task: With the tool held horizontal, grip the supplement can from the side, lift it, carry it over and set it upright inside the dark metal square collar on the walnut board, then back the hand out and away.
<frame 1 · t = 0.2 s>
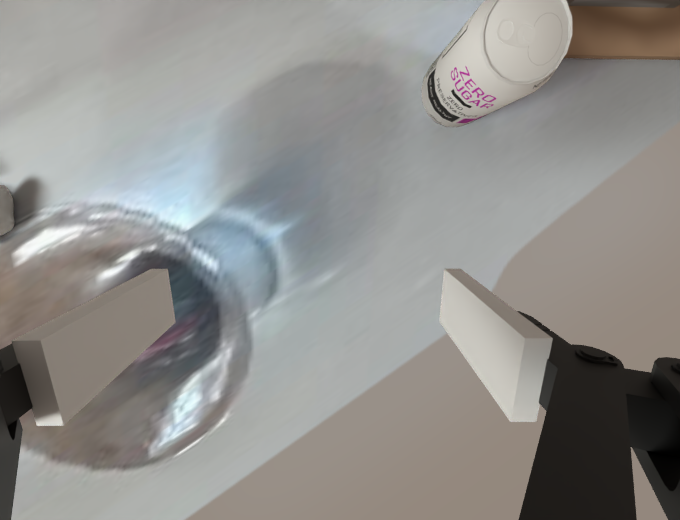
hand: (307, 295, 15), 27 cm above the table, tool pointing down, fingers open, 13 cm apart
supplement can: (452, 93, 39), on the table
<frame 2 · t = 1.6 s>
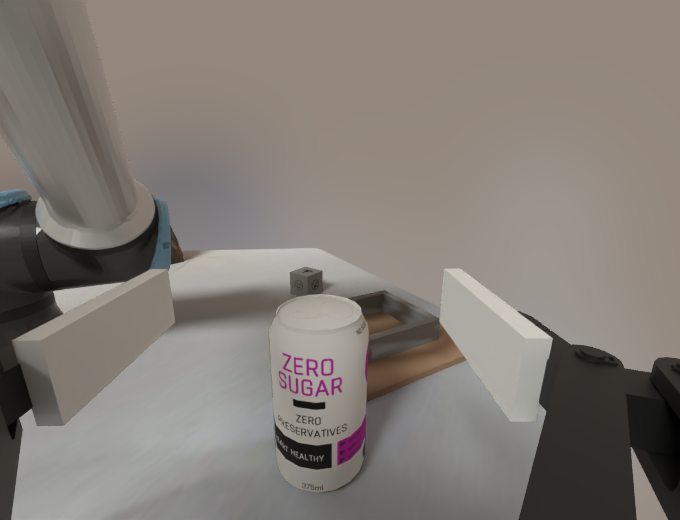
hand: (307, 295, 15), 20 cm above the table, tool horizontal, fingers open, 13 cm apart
dice cube: (306, 293, 70), on the table
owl: (159, 263, 93), on the table
collar board: (375, 339, 52), on the table
supplement can: (320, 457, 30), on the table
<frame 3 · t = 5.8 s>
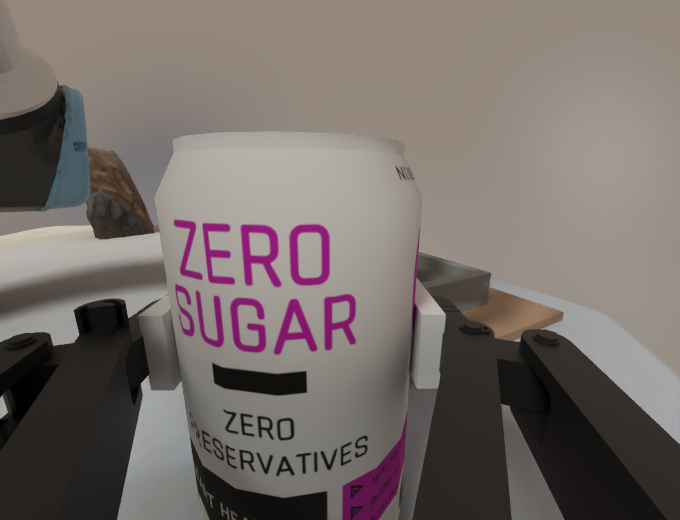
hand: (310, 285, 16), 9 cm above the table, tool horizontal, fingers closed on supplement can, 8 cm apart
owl: (124, 234, 77), on the table
collar board: (392, 307, 36), on the table
supplement can: (306, 504, 14), on the table, touching gripper
when the fingers open (11 cm above the table, at t = 12.6 s): supplement can drops 2 cm, resting on collar board.
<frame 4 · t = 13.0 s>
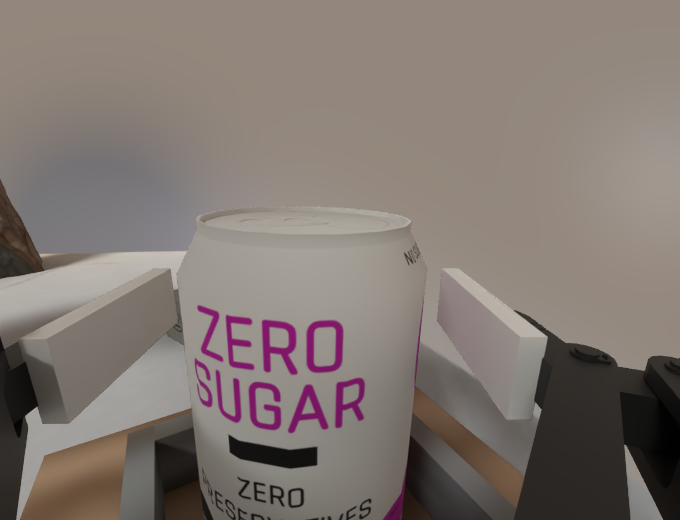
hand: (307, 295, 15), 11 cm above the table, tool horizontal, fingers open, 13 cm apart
dice cube: (202, 335, 35), on the table
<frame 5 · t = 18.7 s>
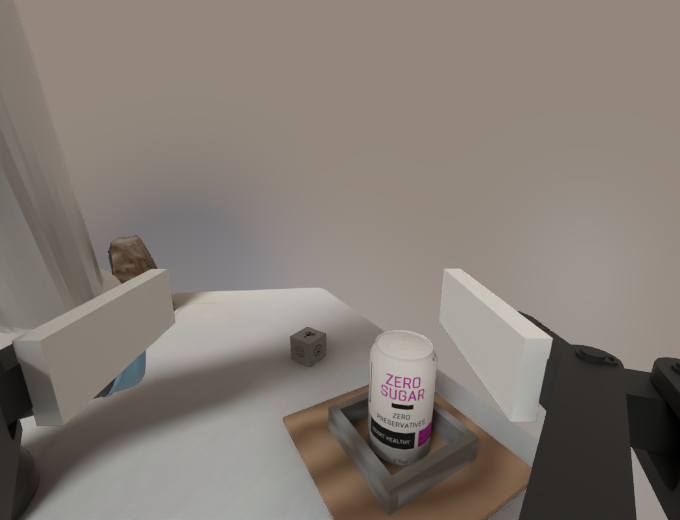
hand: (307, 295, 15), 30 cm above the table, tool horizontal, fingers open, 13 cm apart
dice cube: (308, 358, 64), on the table
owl: (147, 313, 84), on the table
collar board: (397, 451, 43), on the table, touching supplement can
supplement can: (397, 443, 43), resting on collar board
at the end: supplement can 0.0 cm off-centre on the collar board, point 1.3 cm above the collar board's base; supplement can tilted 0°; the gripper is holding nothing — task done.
